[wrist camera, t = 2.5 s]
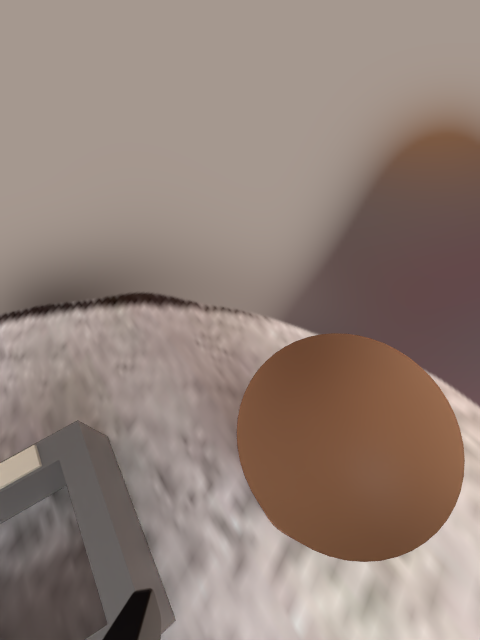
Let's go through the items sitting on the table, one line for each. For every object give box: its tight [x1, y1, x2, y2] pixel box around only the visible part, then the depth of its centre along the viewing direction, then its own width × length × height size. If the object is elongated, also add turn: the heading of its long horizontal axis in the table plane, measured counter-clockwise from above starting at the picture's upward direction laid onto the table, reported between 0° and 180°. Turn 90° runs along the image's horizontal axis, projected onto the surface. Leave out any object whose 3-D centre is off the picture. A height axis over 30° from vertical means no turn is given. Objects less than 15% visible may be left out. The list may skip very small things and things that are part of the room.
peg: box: [237, 334, 465, 562], centre depth 12 cm, size 4×4×13 cm
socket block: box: [0, 421, 176, 640], centre depth 16 cm, size 9×9×4 cm
